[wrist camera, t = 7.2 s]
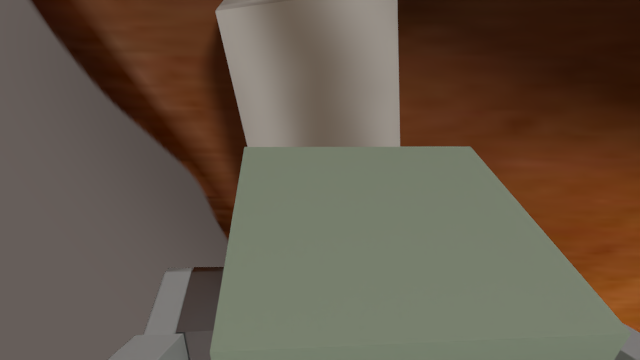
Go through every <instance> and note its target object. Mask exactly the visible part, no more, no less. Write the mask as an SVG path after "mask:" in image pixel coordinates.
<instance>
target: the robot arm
mask: <svg viewBox="0 0 640 360" xmlns="http://www.w3.org/2000/svg"><path fill="white" fill-rule="evenodd" d="M223 271H224V267H194V268H168V270H167V271H166V272H165V273H164V275H163V279H162V281H161V284H160V287H159V290H158V293H157V296H156V299H155V302H154V304H153V307H152V310H151V313H150V316H149V319H148V322H147V325H146V328H145V331H144V334H143V335H135V336H134V337H133V338H131V339H130V340H129V341H128V342H127V343H126V344H124V345H123V346H122V347H121V348H120V349H119V350H118V351H117V352H115V353H114V354H113V355H112V356H111V357H110V358H109V359H107V360H211V357H210V348H211V342H212V336H213V330H214V324H215V318H216V312H217V306H218V301H219V295H220V289H221V283H222V277H223ZM623 325H624V326H625V327H626V328H627V329H628V330H629V331H630V333H631V335H630V336H629V338H628V339H627V341H626V342H625V344H624V345H623V347H622V348H621V350H620V351H619V353H618V355H617V356H616V358H615V359H614V360H640V333H639V332H637V331H635V330H634V329H632V328H630V327H628V326H627V325H625V324H623Z"/></svg>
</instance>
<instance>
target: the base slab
mask: <svg viewBox="0 0 640 360" xmlns="http://www.w3.org/2000/svg"><path fill="white" fill-rule="evenodd" d="M215 12H216V16H217V20H218V25H219V29H220V33H221V37H222V41H223V46H224V50H225V54H226V58H227V62H228V67H229V71H230V75H231V79H232V84H233V88H234V92H235V96H236V100H237V105H238V109H239V113H240V117H241V121H242V126H243V130H244V134H245V138H246V143H247V147H400V117H399V60H398V4H397V0H224V1H223V2H222V3H221V4H220V6H219V7H218V8H217V9H216V11H215Z"/></svg>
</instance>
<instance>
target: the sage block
mask: <svg viewBox="0 0 640 360" xmlns="http://www.w3.org/2000/svg"><path fill="white" fill-rule="evenodd" d="M630 335H631V333H630V331H629V330H628V329H627V328H626V327H625V326H624V325H623V323H622V322H621V321H620V320H619V319H618V318H617V316H616V315H615V314H614V313H613V312H612V311H611V309H610V308H609V307H608V306H607V305H606V304H605V302H604V301H603V300H602V299H601V298H600V297H599V295H598V294H597V293H596V292H595V291H594V290H593V288H592V287H591V286H590V285H589V284H588V283H587V282H586V280H585V279H584V278H583V277H582V276H581V275H580V273H579V272H578V271H577V270H576V269H575V268H574V266H573V265H572V264H571V263H570V262H569V261H568V259H567V258H566V257H565V256H564V255H563V254H562V252H561V251H560V250H559V249H558V248H557V247H556V246H555V244H554V243H553V242H552V241H551V240H550V239H549V237H548V236H547V235H546V234H545V233H544V232H543V230H542V229H541V228H540V227H539V226H538V225H537V223H536V222H535V221H534V220H533V219H532V218H531V216H530V215H529V214H528V213H527V212H526V211H525V209H524V208H523V207H522V206H521V205H520V204H519V203H518V201H517V200H516V199H515V198H514V197H513V196H512V194H511V193H510V192H509V191H508V190H507V189H506V187H505V186H504V185H503V184H502V183H501V182H500V180H499V179H498V178H497V177H496V176H495V175H494V173H493V172H492V171H491V170H490V169H489V168H488V167H487V165H486V164H485V163H484V162H483V161H482V160H481V158H480V157H479V156H478V155H477V154H476V153H475V151H474V150H473V149H472V148H471V147H244V152H243V158H242V164H241V170H240V176H239V182H238V188H237V194H236V200H235V205H234V211H233V217H232V223H231V229H230V235H229V241H228V247H227V253H226V259H225V265H224V271H223V277H222V283H221V289H220V295H219V301H218V306H217V312H216V318H215V324H214V330H213V336H212V342H211V348H210V357H211V360H614V359H615V358H616V356H617V355H618V353H619V351H620V350H621V348H622V347H623V345H624V344H625V342H626V341H627V339H628V338H629V336H630Z"/></svg>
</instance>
